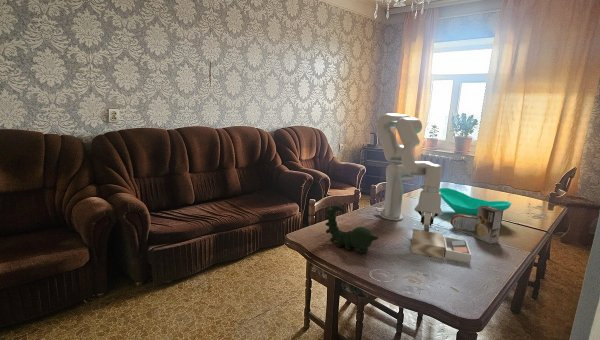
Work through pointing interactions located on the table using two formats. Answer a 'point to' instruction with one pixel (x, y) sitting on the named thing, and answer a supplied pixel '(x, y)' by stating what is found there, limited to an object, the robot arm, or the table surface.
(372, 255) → the table surface
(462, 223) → the tin
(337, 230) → the toy figurine
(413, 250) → the wood grain block
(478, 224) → the coffee box
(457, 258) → the box
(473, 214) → the table top decor
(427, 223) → the scraper
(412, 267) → the table surface
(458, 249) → the tile terracotta
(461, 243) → the tile slate
